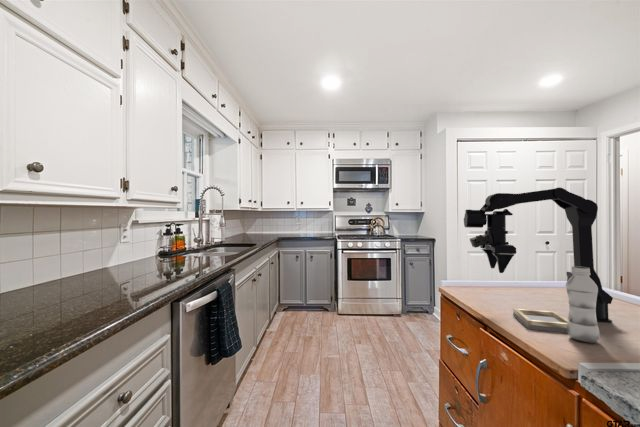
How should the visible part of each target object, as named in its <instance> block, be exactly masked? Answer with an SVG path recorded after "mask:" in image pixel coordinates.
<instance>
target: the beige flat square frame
mask: <svg viewBox="0 0 640 427" xmlns="http://www.w3.org/2000/svg"><path fill="white" fill-rule="evenodd" d="M512 315H513V316H514V317H515V319H517V320H518V321H519V322H520V323H522V325H523V326H524V327H525V328H527V330H528V329H530V330H539V331H549V332H557V333H558V332H559V333H568V332H567V322H568V318H566V317H565V316H563V315H561V314H560V313H559V312H556V311H554V310H553V311H552V310H551V311H550V310H542V309H541V310H538V309H527V308H526V309H524V308H513V314H512Z"/></svg>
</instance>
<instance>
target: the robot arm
mask: <svg viewBox="0 0 640 427" xmlns="http://www.w3.org/2000/svg"><path fill="white" fill-rule="evenodd" d="M549 200H551V201H553V202H554V203H555V204H556V205H557V206H558V207H559V208H562V209H563V210H564V211H565V216H566V219H567V220H568V222H569V223H570V225H571V229H572V230H571V231H572V248H573V250H572V251H573V266H578V267H587V268H590V273H591V275H589V277H590V278H591V279H592V280H593V281H594V282H595V284H596V285H597V287H598V292H597V293H598V294H597V300H596V308H595V309H596V318H597V322H607V323H613V320H612V319H610V318H609V317H610V316H609V305H611V304H612V301H613V300H614V297H613V296H611V295H610V294H609V293H608V292H606V291H605V290H604V289H603V285H602V282H601V278H600V276H599V275H598V274H597V272H596V271H595V268H594V248H593V231H592V230H593V229H592V228H593V224H594V223H595V221H596V219H597V216H598V212H599V211H598V210H599V207H598V204H597V203H596V202H595V201H593V200H591V199H588V198H587V199H586V198H584V197H582V196H581V195H578V194H575V193H573V192H572V191H571V192H570V191H569V190H567V189H565V188H563V187H555V188H550V189H545V190H544V189H543V190H542V189H541V190H536V191H529V192H521V193H520V192H519V193H507V192H506V193H505V192H502V193H501V192H500V193H499V192H498V193H497V192H496V193H493V194H490V195H488V196H487V197H486V198H485V200H484V204H483V205H482V207H481V208H480V209H465V211H464V218H463V225H464V228H475V229H476V228H478V229H479V228H482V229H483V227H484V226H486V230H485V231H484V234H479V235H476V236H474V237H470V238H469V242H470V244H471V246H472V248H480V249H481V251H483V252H484V253H485V255H486V256H487V259H488V263H489V266H490V268H491V269H495V267H496V265H497V267H498V269H497V270H498V272H499V274H503V273H504V272H505V271H506V269H507V266H509V263H510V262H511V260H512V259H513V257H515V255H516V254H517V247H516V246H515V245H513V244H509V242H507V235H508V234H509V231H508V230H507V226H506V225H507V222H506V218H507V217H506V216H513V215H514V214H513V213H512V211H510V210H509V209H507V208H509V207H513V206H515V205H519V204H526V203H535V202H541V201H549ZM501 209H503V210H501ZM565 274H566V277H567V280H566V283H567V281H568V280H569V279H570V278H571V277H572V276H573V274H572V273H571V271H566V273H565Z"/></svg>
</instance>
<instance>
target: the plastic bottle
mask: <svg viewBox="0 0 640 427" xmlns="http://www.w3.org/2000/svg"><path fill="white" fill-rule="evenodd" d="M570 272H571V273H572V274H573V276H572V277H571V278H570V279H569V280H568V281H567V280H566V282H567V283H566V284H565V289H566V294H567V295H566V296H567V298H568V318H567V319H568V322H567V332H566V333H567V334H568V336H569V337H570V338H572V339H574V340H576V341H580V342H583V343H584V342H585V343H592V344H593V343H597V342H598V341H599V340H600V336H601V332H600V328H599V325H598V321H597V318H596V309H595V308H596V300H597V294H598V293H597V292H598V287H597V285H596V284H595V282H594V281H593V280H592V279H591V278H590V277H589V275H591V273H590V268H587V267H578V266H574V265H573V266H571V271H570Z"/></svg>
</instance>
